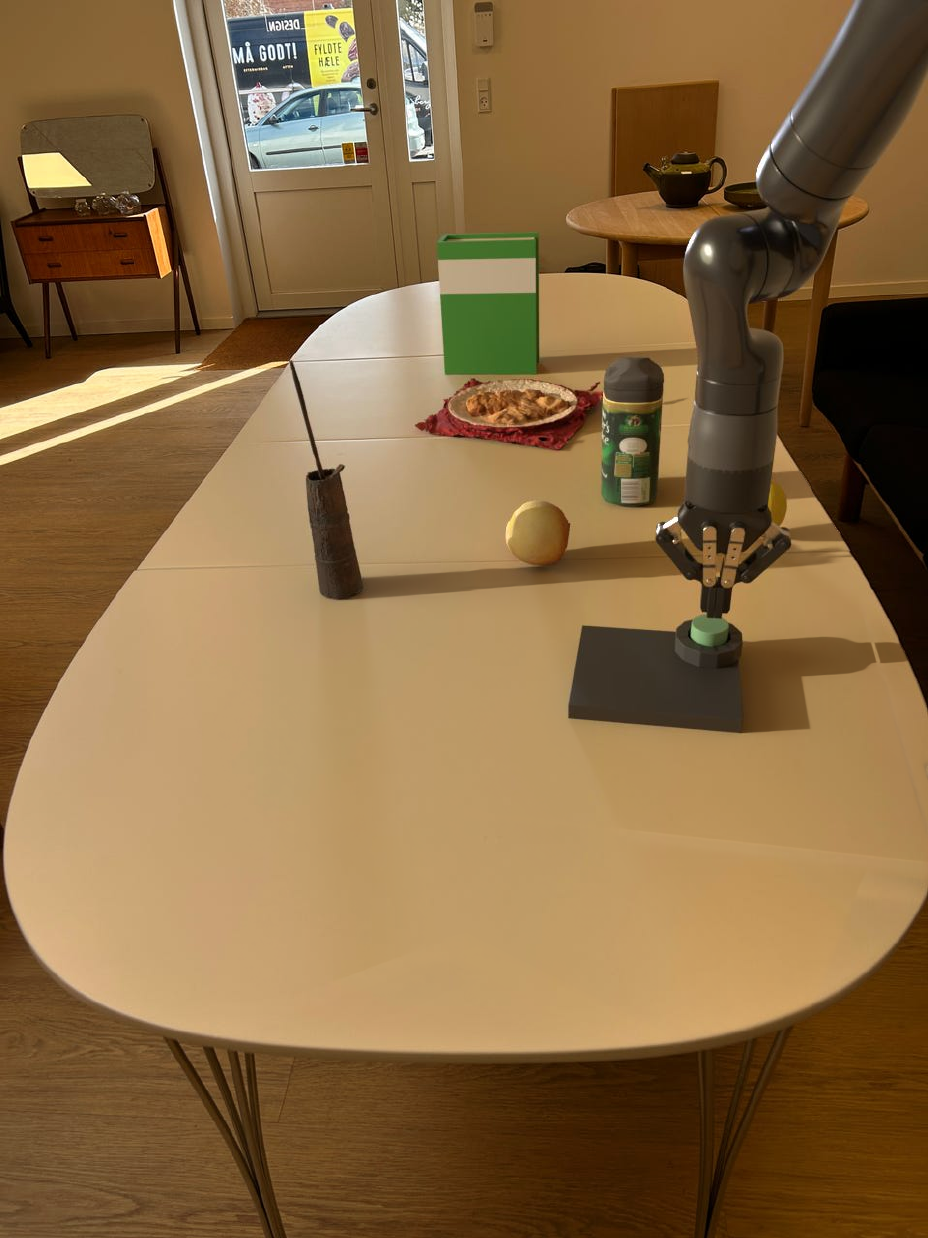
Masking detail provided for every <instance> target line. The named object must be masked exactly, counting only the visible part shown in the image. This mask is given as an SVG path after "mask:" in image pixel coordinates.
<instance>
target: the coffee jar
mask: <svg viewBox="0 0 928 1238" xmlns="http://www.w3.org/2000/svg"><path fill="white" fill-rule="evenodd" d="M664 383H665V373H664V371H663V368H662V366H660V365H659V364H658V363H657V362H655V361H654V360H653V359H651V358H650V357H648V356H646V357H645V356H642V357H641V356H640V357H639V356H633V357H632V356H629V357H628V356H626V357H624V356H623V357H619V358H618V359H617V360H616V361H614V362H613V363H611V364H610V365H608V367H607V368H606V369H605V373H604V378H603V390H602V391H603V397H602V410H601V411H602V412H601V413H602V414H601V468H600V469H601V473H600V491H601V497H602V499H603V500H604V501H605V502H606V503H610V504H612V505H617V506H619V507H627V508H628V507H629V508H630V507H634V508H635V507H638V506H643V505H648V504H651V503H653V502H654V501H655V499H656V498H657V496H658V488H659V486H658V485H659V475H660V473H659V470H660V452H661V440H662V439H661V436H662V422H663V421H662V419H663V403H664V391H665V390H664Z"/></svg>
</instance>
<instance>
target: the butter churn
mask: <svg viewBox="0 0 928 1238" xmlns="http://www.w3.org/2000/svg"><path fill="white" fill-rule="evenodd" d="M288 364H289V367H290V371H291V377H292V381H293V384H294V388H295V391H296V394H297V397H298V402H299V407H300V409H301V412H302V416H303V420H304V424H305V428H306V431H307V435H308V438H309V442H310V443H309V444H310V446H311V451H312V455H313V456H314V460H315V465H316V468H317V469H316V470H312V471H308V472H307V474H306V475H305V488H306V502H307V512H308V521H309V524H310V529H311V536H312V541H313V551H314V560H315V565H316V567H315V568H316V574H317V583H318V591H319V594H320V595H322V597H324V598H326V599H329V600H330V599H333V600H334V599H337V600H338V599H346V598H349V597H350V596H352V595H357V594H359V593H360V592H361V591H362V590H363V589H364V583H363V579H362V573H361V569H360V564H359V560H358V556H357V550H356V548H355V543H354V539H353V532H352V527H351V523H350V513H349V512H348V511H349V510H348V509H349V508H348V504H347V500H346V495H345V490H344V485H343V480H342V476H341V472H343V471H344V470H345V468H346V466H345V465H344V464H342V463H340V464H338V465H337V466H336V468H332V467H331V468H323V466H322V463H321V460H320V457H319V456H320V455H319V451H318V446H317V444H316V440H315V436H314V432H313V428H312V425H311V422H310V418H309V413H308V409H307V405H306V400H305V397H304V393H303V390H302V386H301V381H300V380H299V379H300V378H299V377H298V373H297V370H296V367H295V364H294V362H293V360H292V359H290V360H289V361H288Z"/></svg>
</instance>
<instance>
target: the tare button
mask: <svg viewBox="0 0 928 1238" xmlns="http://www.w3.org/2000/svg"><path fill="white" fill-rule="evenodd" d="M692 619H693V621H692V626H691V639H692V641H693V642H694V643H697V644H699V645H702V646H707V647H718V646H722V645H724V644H725V643H726V642H727V637H728V629H729V624H728V623H729V622H728V620H726V619H725V618H724V617H722V619H717V618H707V613H705V614H700V615H697V616H695V617H694V618H692Z"/></svg>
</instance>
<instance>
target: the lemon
mask: <svg viewBox="0 0 928 1238" xmlns="http://www.w3.org/2000/svg"><path fill="white" fill-rule="evenodd" d="M787 501H788V500H787V495H786V492H785V490H784V488H783V487H782V486H781V485H780V484H779V483H778V482H777V481H775V480H773V479H771V486H770V494H769V501H768V508H769V510H770V512H771V517H772V522H774V523H775V524H776V525H778V526H779V527H781V525H782V524H783V523H784V520H785V517H786V514H787V509H788V502H787ZM765 533H766V532H765ZM765 533H764V534H765ZM764 534H763V535H762V536H761V537H762V538H763V536H764ZM761 537H760V538H761Z"/></svg>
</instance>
